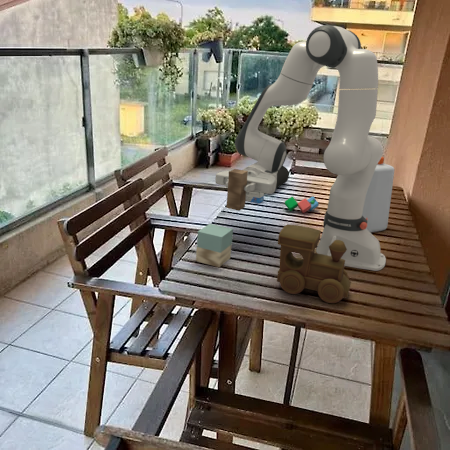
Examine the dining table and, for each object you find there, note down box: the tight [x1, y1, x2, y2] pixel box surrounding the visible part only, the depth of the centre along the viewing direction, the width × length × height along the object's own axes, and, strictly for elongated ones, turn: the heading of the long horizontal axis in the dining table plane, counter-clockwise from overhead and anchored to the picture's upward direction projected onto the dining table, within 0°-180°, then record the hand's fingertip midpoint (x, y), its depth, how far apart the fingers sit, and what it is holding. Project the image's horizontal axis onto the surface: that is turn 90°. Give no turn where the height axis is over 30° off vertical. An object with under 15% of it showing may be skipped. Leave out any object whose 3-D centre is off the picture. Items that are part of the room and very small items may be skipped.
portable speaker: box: [275, 165, 290, 190], centre depth 219 cm, size 26×10×10 cm, turn 155°
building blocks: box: [284, 195, 320, 214], centre depth 189 cm, size 8×8×12 cm
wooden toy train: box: [276, 223, 352, 304], centre depth 121 cm, size 20×11×17 cm, turn 69°
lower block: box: [195, 244, 232, 268], centre depth 138 cm, size 8×8×5 cm
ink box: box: [245, 191, 265, 204], centre depth 197 cm, size 9×5×12 cm, turn 58°
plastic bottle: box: [362, 156, 395, 233], centre depth 172 cm, size 15×15×28 cm
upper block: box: [196, 223, 234, 253], centre depth 136 cm, size 8×8×5 cm
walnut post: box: [226, 168, 248, 211], centre depth 142 cm, size 4×4×12 cm
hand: (236, 187), depth 141 cm, fingers closed on walnut post, 4 cm apart
